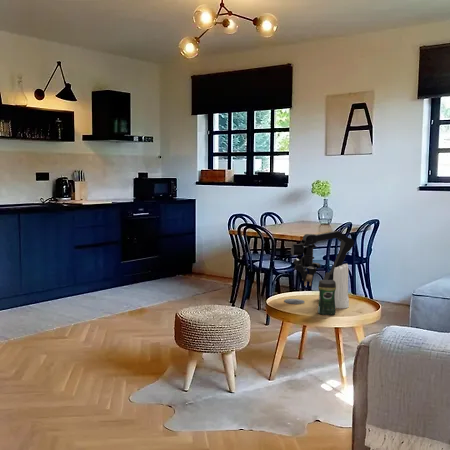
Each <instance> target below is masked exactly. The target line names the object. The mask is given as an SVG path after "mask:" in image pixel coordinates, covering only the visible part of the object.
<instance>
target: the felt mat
mask: <svg viewBox="0 0 450 450" xmlns="http://www.w3.org/2000/svg"><path fill="white" fill-rule="evenodd" d="M283 302H284V303H285V304H289V305H301V304H305V300H304V299H298V298H288V299H284V300H283Z"/></svg>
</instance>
